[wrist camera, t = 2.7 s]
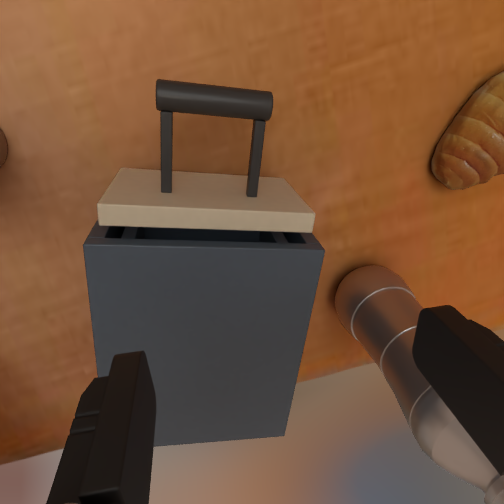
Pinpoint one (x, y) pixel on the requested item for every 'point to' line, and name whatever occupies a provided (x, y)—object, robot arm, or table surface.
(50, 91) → the table surface
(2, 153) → the steel cylinder
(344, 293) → the metallic bottle
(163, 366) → the cabinet
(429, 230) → the table surface
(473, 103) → the pastry
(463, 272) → the table surface
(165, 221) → the drawer
